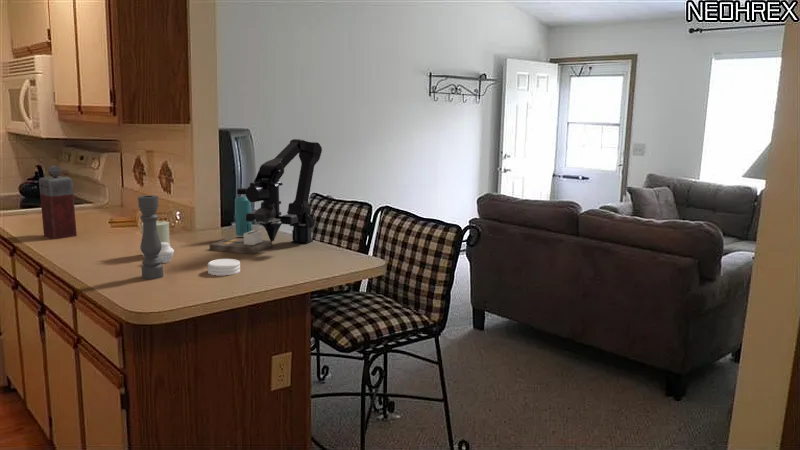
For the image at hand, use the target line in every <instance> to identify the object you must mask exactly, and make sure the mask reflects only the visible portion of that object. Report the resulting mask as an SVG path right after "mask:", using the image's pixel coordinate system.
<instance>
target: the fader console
mask: <svg viewBox="0 0 800 450" xmlns="http://www.w3.org/2000/svg"><path fill="white" fill-rule="evenodd" d="M272 247H273V241H270V240H265V239H262V242H260V243H258V244H255V245H248V244H244V237H243V238H241V237H233V236H232V237H228V238H225V239H222V240H219V241H217V242H216V241H215V242H213V243H210V244H209V251H218V252H219V251H220V252H228V253H237V254H250V255H253V254H256V253H258V252H261V251H265V250H266V249H269V248H272Z"/></svg>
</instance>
